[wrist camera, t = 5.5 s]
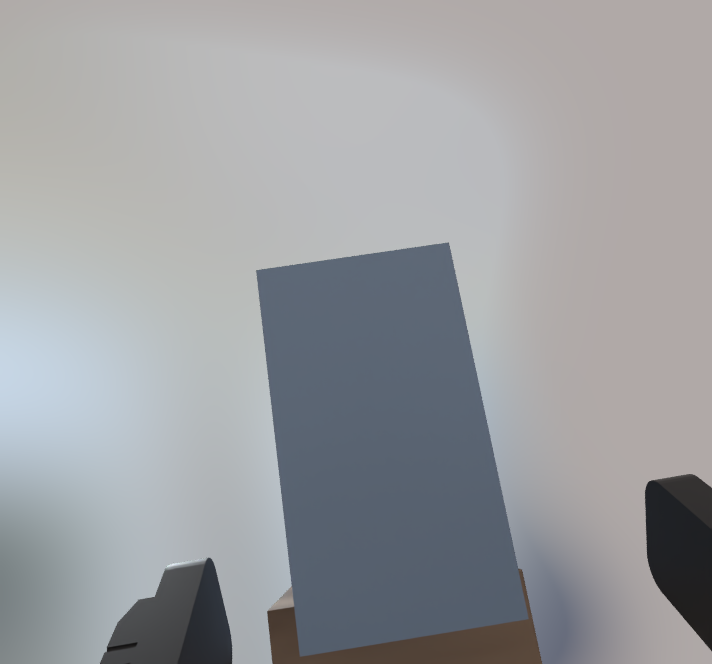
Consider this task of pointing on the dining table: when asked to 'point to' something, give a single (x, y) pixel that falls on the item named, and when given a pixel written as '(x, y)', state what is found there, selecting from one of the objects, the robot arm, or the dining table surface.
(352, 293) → the rail
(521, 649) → the pedestal
